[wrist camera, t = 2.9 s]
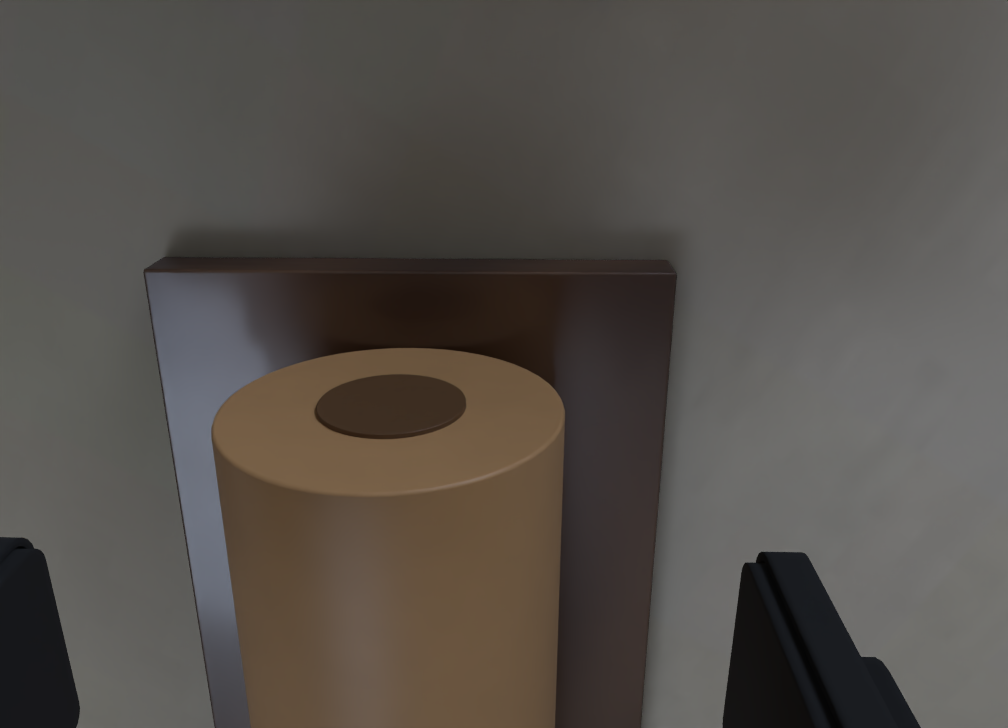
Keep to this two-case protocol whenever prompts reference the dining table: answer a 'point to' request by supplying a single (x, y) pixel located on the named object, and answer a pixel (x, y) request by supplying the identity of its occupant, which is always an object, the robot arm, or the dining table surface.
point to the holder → (459, 327)
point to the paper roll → (395, 540)
